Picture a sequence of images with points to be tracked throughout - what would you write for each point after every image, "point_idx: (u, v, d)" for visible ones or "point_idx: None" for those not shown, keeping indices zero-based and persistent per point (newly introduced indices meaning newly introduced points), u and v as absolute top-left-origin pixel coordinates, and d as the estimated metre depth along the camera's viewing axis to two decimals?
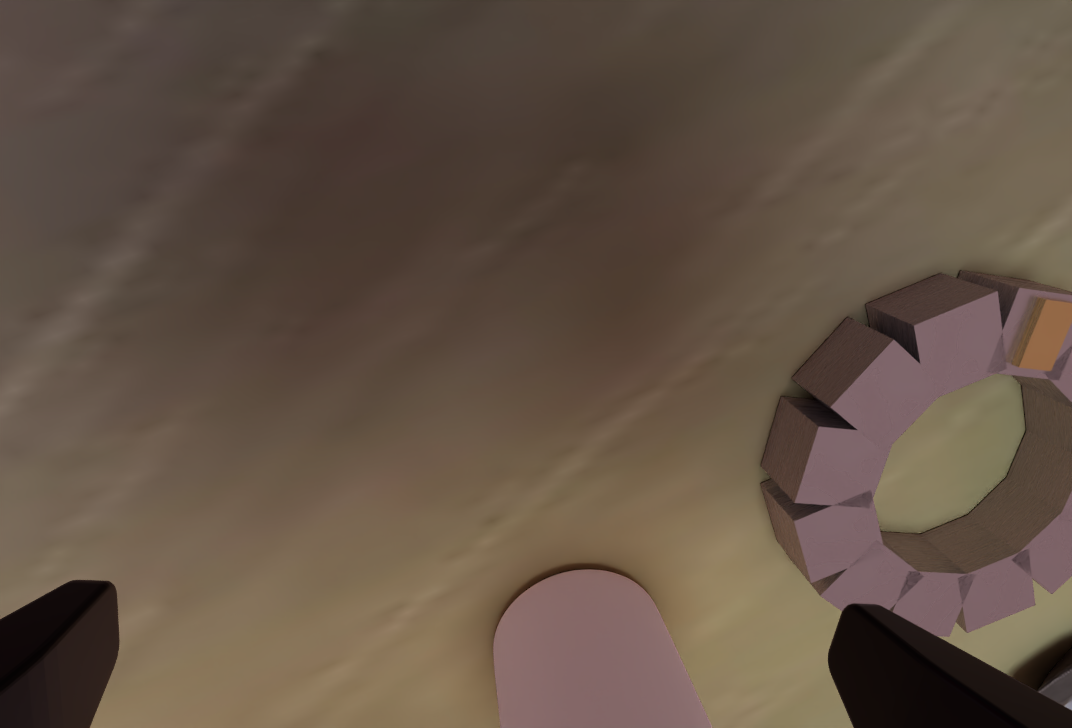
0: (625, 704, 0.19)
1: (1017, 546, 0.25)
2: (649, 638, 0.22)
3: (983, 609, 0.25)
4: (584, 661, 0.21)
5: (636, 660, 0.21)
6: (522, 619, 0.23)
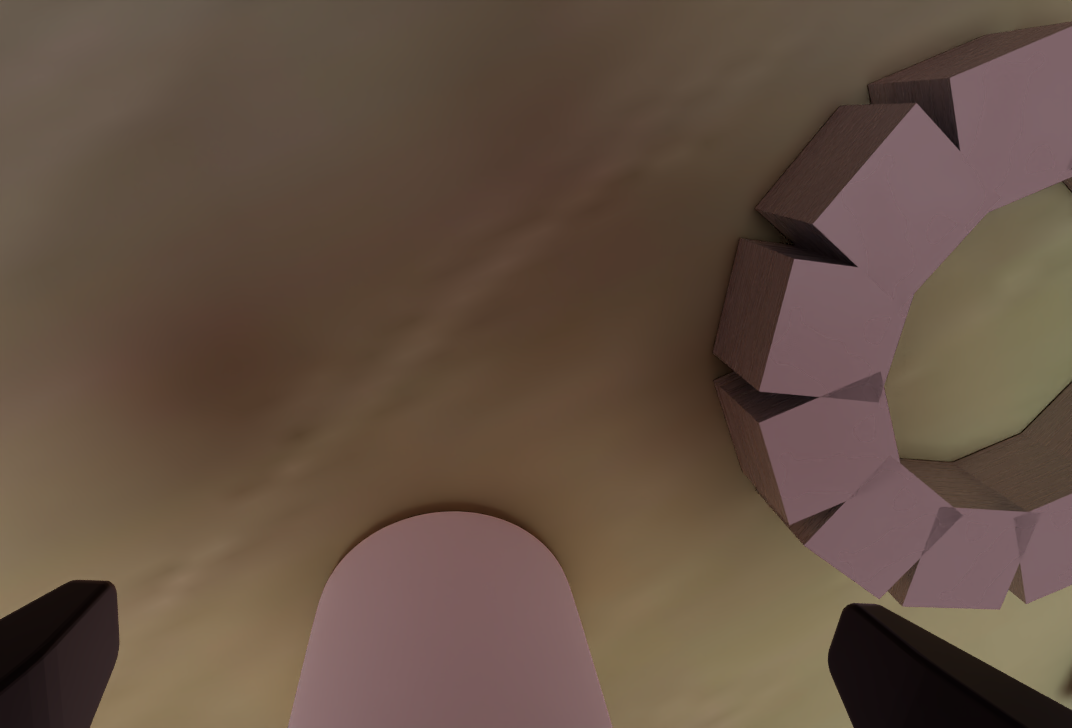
0: (446, 719, 0.11)
1: None
2: (524, 609, 0.14)
3: (1050, 567, 0.17)
4: (401, 645, 0.12)
5: (490, 642, 0.12)
6: (341, 585, 0.15)
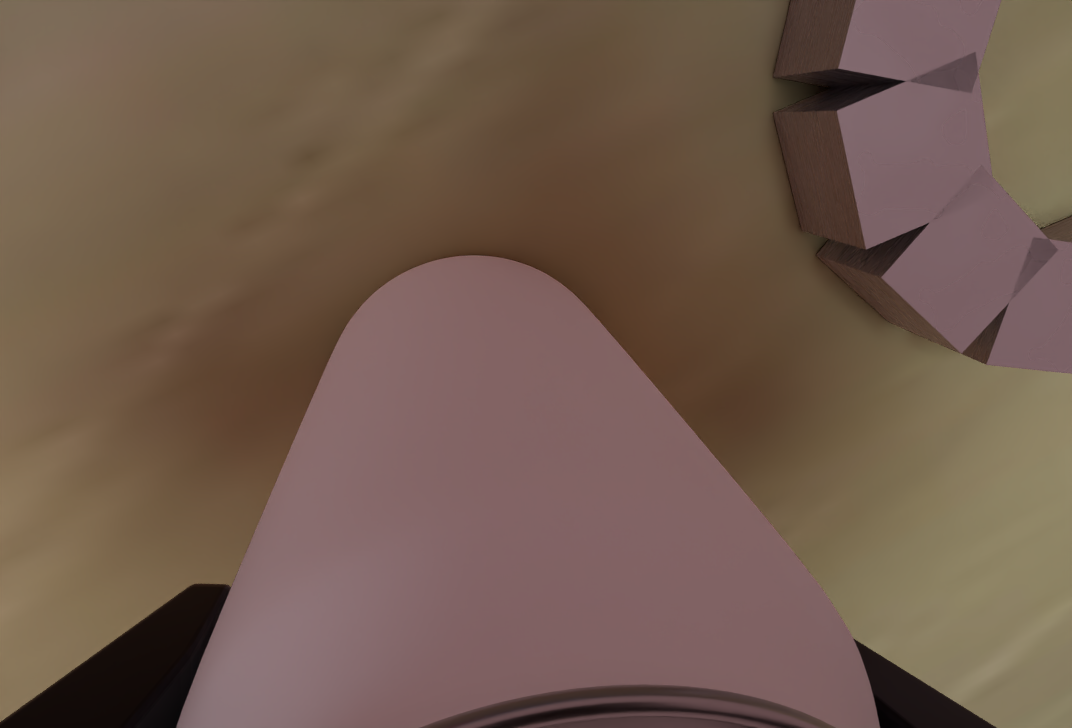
0: (494, 338, 0.09)
1: None
2: (572, 308, 0.12)
3: None
4: (434, 311, 0.10)
5: (537, 310, 0.10)
6: (358, 316, 0.13)
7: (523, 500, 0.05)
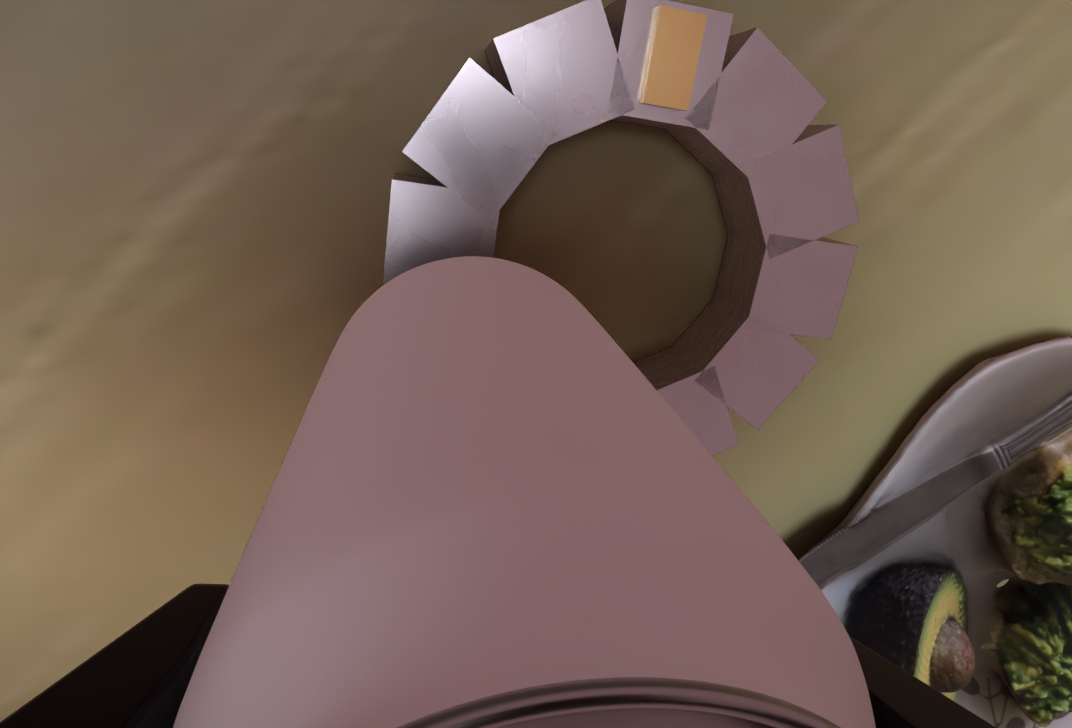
0: (492, 338, 0.09)
1: (704, 366, 0.20)
2: (570, 308, 0.12)
3: None
4: (433, 311, 0.10)
5: (536, 311, 0.10)
6: (357, 317, 0.13)
7: (520, 495, 0.05)
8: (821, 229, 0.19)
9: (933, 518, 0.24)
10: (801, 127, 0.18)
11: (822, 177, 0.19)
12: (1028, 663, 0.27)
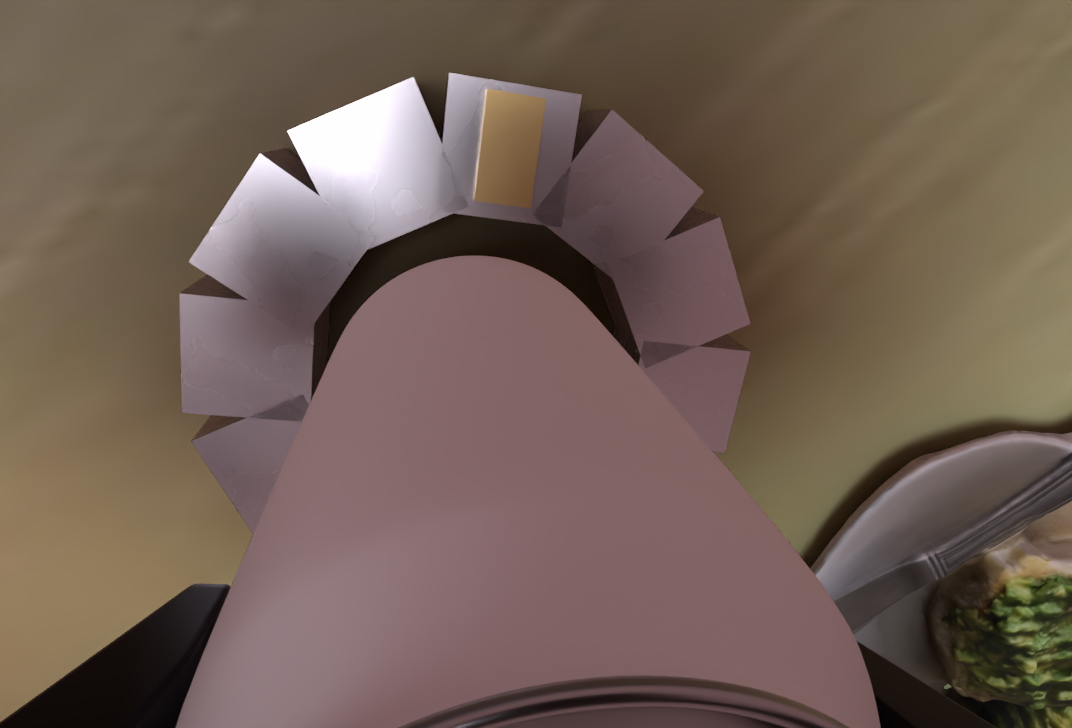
0: (495, 336, 0.09)
1: None
2: (572, 307, 0.12)
3: None
4: (435, 309, 0.10)
5: (538, 309, 0.10)
6: (358, 315, 0.13)
7: (523, 493, 0.05)
8: (705, 334, 0.16)
9: (862, 629, 0.22)
10: (673, 221, 0.15)
11: (702, 276, 0.16)
12: None
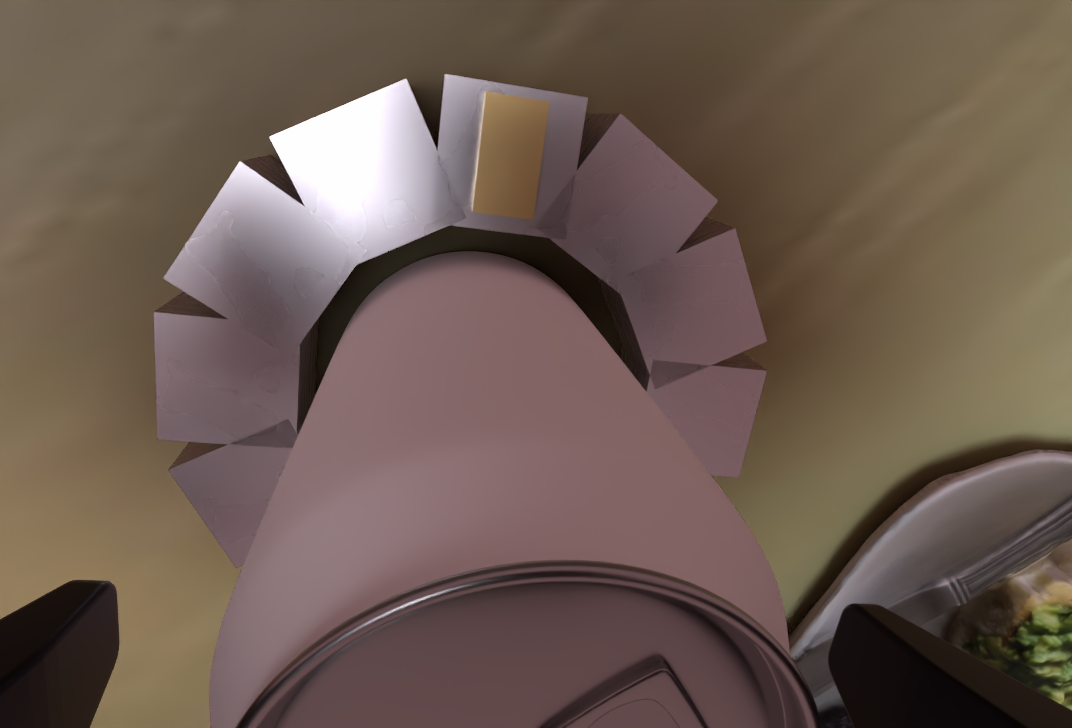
0: (484, 320, 0.10)
1: None
2: (556, 298, 0.13)
3: None
4: (432, 299, 0.12)
5: (523, 298, 0.12)
6: (364, 304, 0.15)
7: (500, 436, 0.07)
8: (719, 352, 0.15)
9: None
10: (686, 233, 0.14)
11: (716, 292, 0.15)
12: None
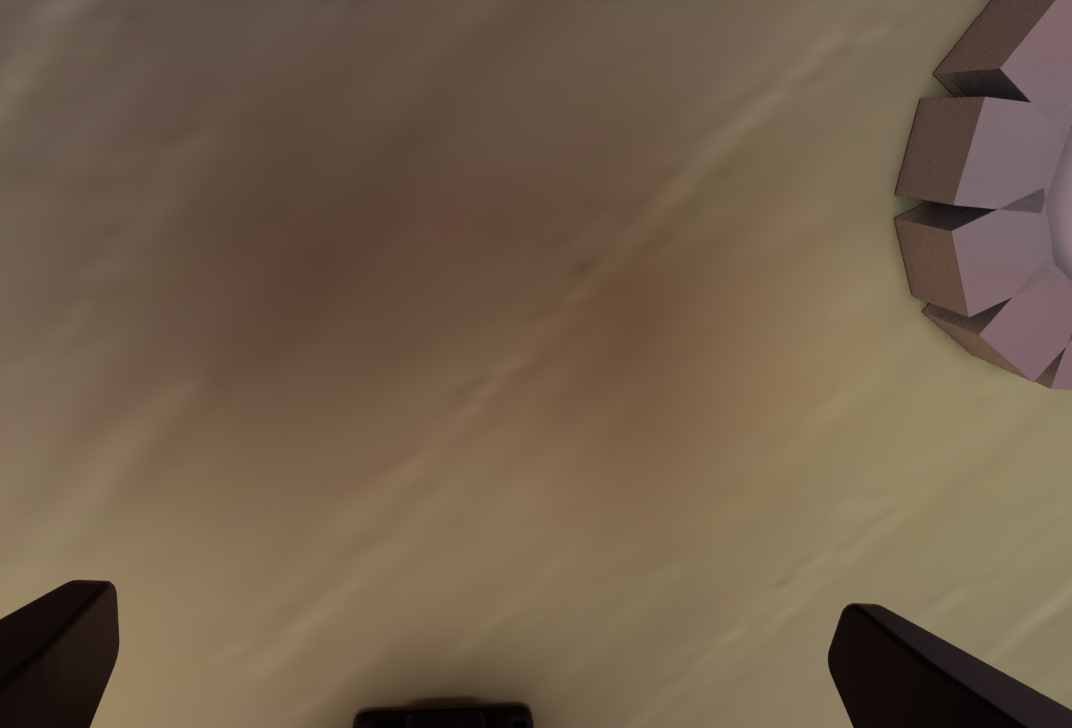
0: None
1: None
2: None
3: None
4: None
5: None
6: None
7: None
8: None
9: None
10: None
11: None
12: None
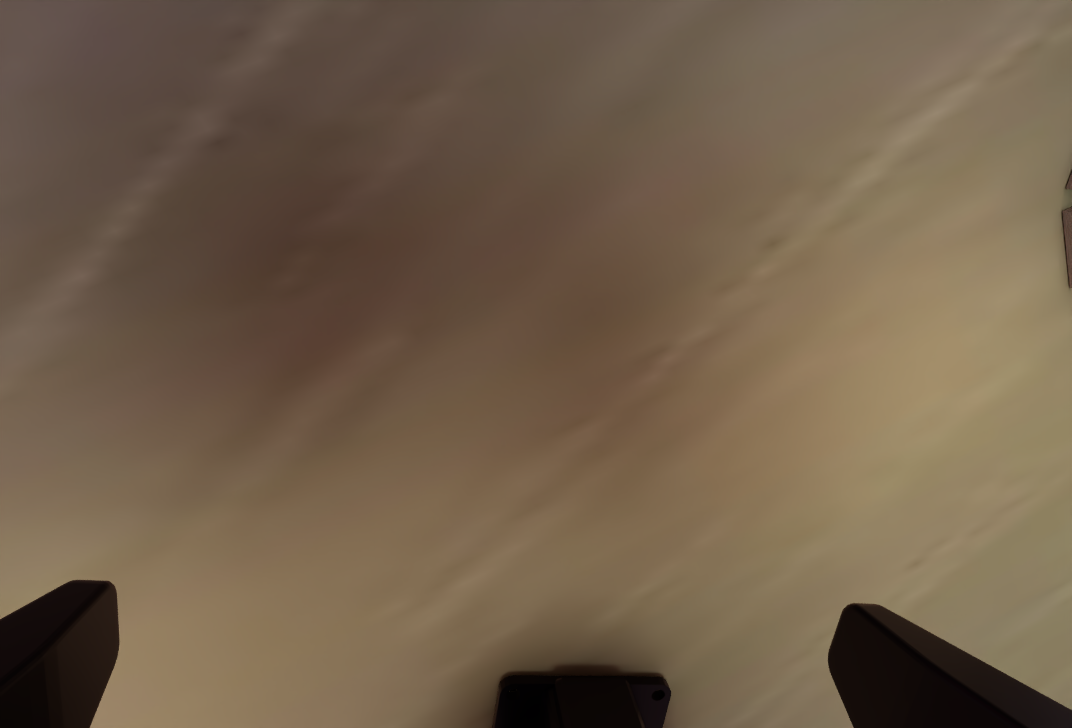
0: None
1: None
2: None
3: None
4: None
5: None
6: None
7: None
8: None
9: None
10: None
11: None
12: None
